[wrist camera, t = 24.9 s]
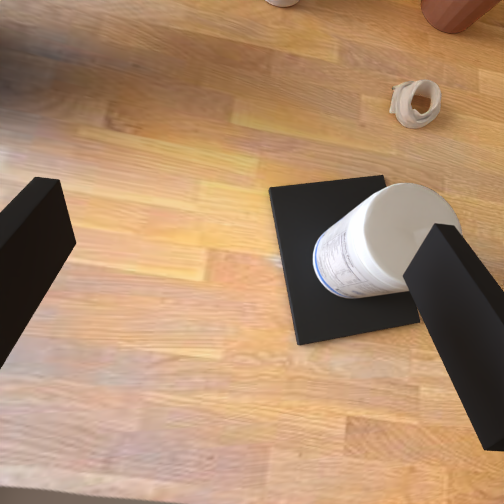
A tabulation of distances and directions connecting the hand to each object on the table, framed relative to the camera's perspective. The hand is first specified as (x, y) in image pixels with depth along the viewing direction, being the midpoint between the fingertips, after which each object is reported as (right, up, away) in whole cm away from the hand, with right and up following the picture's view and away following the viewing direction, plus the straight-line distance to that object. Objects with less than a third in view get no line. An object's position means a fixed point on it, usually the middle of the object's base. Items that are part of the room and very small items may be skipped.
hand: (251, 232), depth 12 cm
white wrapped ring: (+24, +20, +38) cm, 49 cm away
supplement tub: (+12, -2, +31) cm, 33 cm away
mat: (+12, -1, +32) cm, 34 cm away
